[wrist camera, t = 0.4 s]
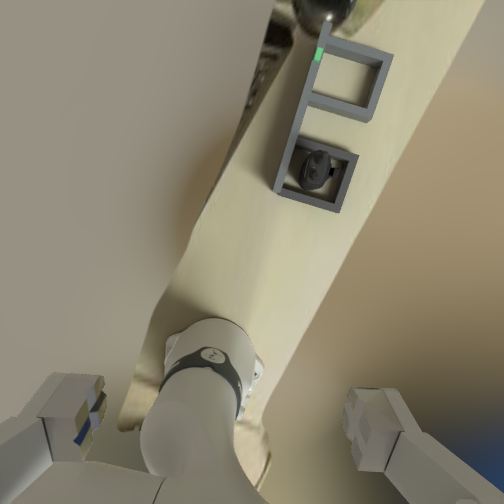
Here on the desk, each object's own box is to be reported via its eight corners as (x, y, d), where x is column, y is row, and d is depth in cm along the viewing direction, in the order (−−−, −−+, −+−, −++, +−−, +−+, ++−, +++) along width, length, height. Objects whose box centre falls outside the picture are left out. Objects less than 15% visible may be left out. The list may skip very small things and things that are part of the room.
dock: (336, 211, 52) (346, 212, 45) (272, 191, 52) (272, 189, 45) (387, 62, 48) (406, 40, 41) (317, 41, 48) (325, 16, 41)
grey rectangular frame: (335, 212, 52) (339, 213, 49) (278, 195, 52) (279, 194, 49) (354, 157, 50) (359, 155, 48) (295, 139, 50) (297, 136, 48)
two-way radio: (303, 156, 51) (317, 136, 36) (329, 161, 51) (354, 144, 36) (295, 189, 52) (306, 183, 37) (321, 195, 51) (342, 191, 37)
